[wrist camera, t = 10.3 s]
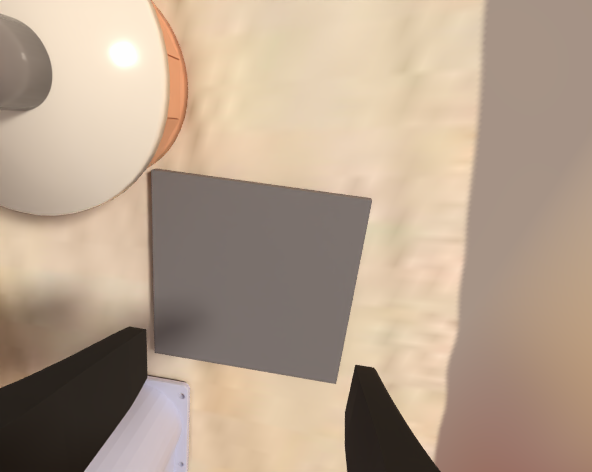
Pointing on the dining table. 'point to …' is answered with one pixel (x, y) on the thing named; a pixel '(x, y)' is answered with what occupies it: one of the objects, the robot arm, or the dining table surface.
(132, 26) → the lid
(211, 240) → the mat
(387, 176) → the dining table surface
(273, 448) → the dining table surface
